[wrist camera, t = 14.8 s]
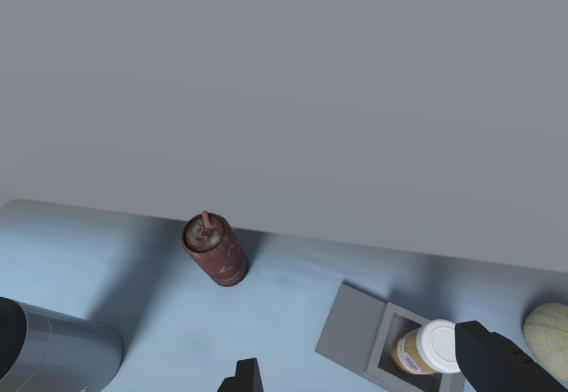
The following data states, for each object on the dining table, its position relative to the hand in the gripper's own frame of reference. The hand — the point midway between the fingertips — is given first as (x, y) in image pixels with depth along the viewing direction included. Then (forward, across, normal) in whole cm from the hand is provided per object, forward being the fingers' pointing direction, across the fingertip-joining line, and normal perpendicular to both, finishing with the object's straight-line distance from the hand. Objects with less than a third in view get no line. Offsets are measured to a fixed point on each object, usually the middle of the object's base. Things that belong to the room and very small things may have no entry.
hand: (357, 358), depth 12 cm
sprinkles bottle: (+23, -11, +22) cm, 34 cm away
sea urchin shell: (+23, -31, +24) cm, 45 cm away
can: (+35, +12, +11) cm, 39 cm away
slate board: (+24, -10, +22) cm, 34 cm away
